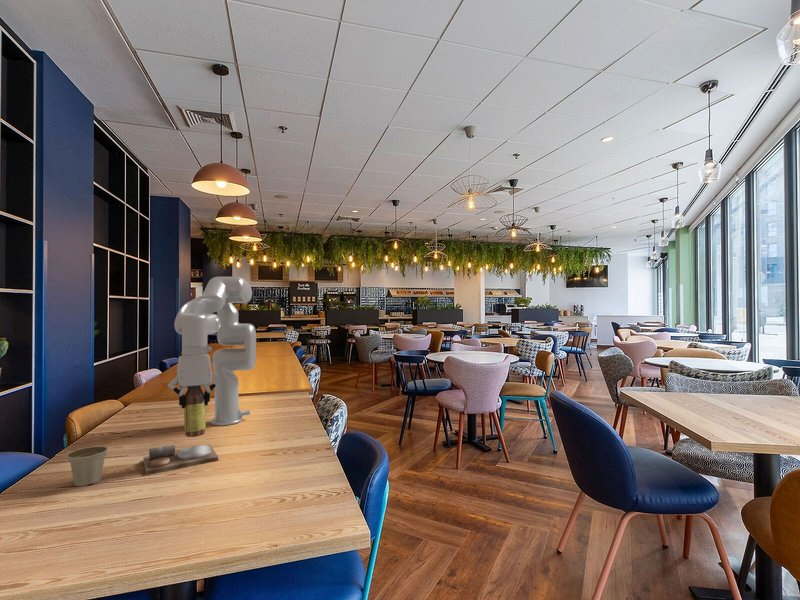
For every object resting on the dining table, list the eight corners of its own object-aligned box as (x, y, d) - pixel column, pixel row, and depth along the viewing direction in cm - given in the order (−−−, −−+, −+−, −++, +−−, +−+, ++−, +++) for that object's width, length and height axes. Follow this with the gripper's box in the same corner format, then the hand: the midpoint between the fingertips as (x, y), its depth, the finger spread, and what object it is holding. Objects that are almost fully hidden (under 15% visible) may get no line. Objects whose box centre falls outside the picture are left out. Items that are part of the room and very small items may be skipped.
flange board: (210, 448, 144) (210, 435, 145) (218, 460, 133) (218, 446, 133) (143, 460, 133) (143, 446, 133) (145, 475, 122) (145, 460, 122)
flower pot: (62, 492, 111) (62, 460, 111) (70, 479, 119) (71, 449, 119) (104, 485, 115) (104, 454, 115) (110, 473, 123) (110, 444, 123)
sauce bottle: (209, 433, 137) (210, 373, 137) (193, 438, 131) (193, 376, 131) (195, 431, 140) (196, 372, 140) (179, 436, 134) (179, 375, 134)
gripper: (220, 349, 144) (220, 400, 143) (163, 352, 134) (163, 407, 134) (225, 350, 138) (224, 404, 137) (166, 354, 128) (165, 412, 128)
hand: (194, 405), depth 136 cm, fingers closed on sauce bottle, 6 cm apart
